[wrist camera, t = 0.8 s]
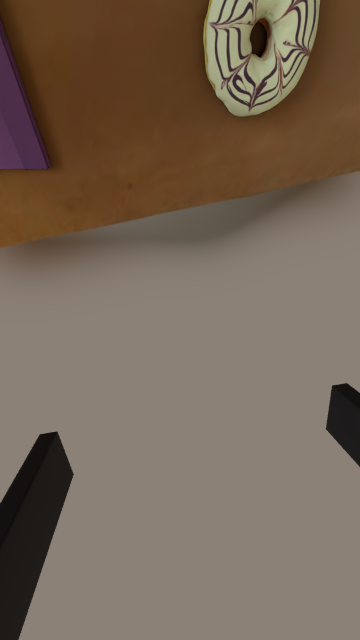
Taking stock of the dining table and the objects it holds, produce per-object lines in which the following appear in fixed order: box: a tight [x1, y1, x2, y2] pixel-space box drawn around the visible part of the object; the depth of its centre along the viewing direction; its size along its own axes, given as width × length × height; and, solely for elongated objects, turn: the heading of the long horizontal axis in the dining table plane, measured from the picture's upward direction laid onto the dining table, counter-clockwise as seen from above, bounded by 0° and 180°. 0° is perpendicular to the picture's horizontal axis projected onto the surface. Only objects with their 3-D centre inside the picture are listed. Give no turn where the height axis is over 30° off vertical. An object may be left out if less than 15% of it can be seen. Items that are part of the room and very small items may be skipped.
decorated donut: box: [203, 0, 320, 117], centre depth 22 cm, size 10×11×4 cm
